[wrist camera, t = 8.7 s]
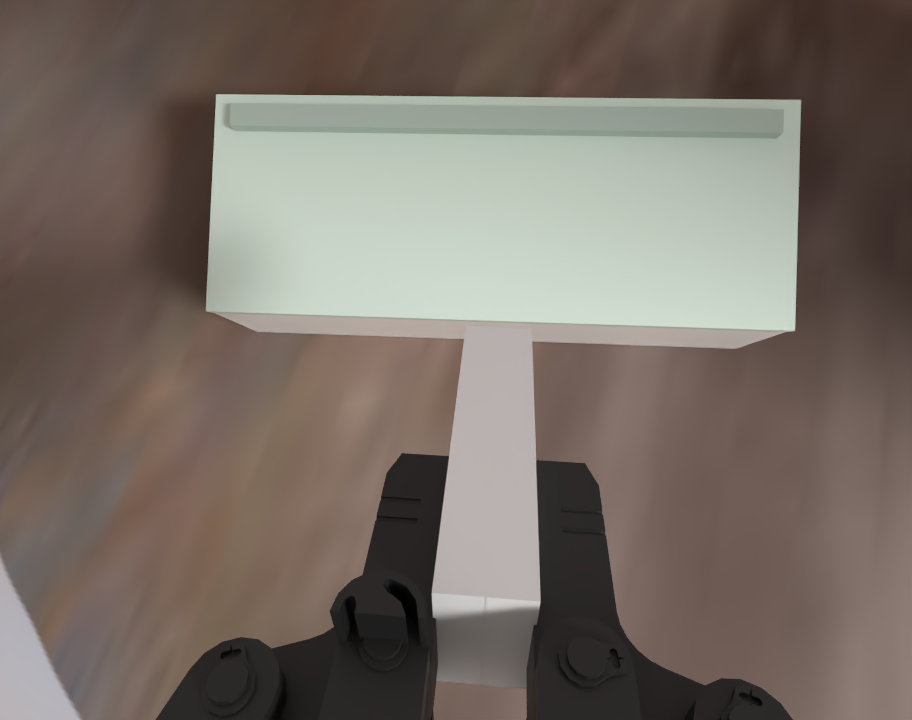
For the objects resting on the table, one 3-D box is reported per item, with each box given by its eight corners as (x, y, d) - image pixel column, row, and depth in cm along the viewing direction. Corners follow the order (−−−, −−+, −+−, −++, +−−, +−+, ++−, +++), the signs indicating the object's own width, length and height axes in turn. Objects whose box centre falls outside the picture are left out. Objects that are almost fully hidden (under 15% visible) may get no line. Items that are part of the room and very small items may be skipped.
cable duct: (733, 169, 31) (778, 120, 26) (735, 348, 30) (784, 332, 25) (272, 161, 33) (234, 113, 28) (257, 331, 32) (214, 313, 27)
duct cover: (791, 108, 25) (808, 93, 24) (785, 332, 25) (802, 329, 24) (224, 102, 27) (209, 87, 26) (214, 313, 27) (198, 309, 25)
